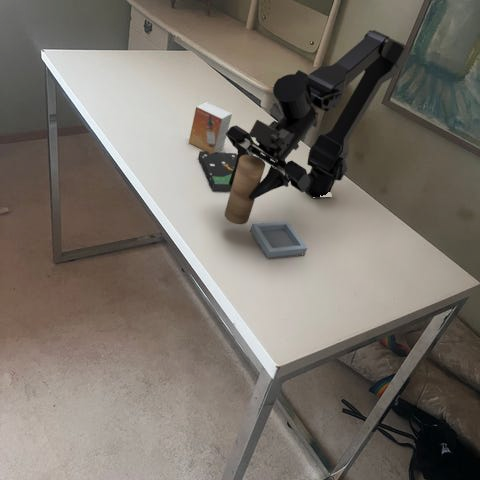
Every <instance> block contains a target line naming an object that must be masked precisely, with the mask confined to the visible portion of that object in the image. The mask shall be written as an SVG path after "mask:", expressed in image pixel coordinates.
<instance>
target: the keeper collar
mask: <svg viewBox="0 0 480 480" xmlns="http://www.w3.org/2000/svg"><path fill="white" fill-rule="evenodd" d="M249 232H250V233H251V236H252V237H253V239H254V240H255V242H256V244H257V245H258V246H259V249H260V250H261V251H262V253H263V255H264V256H265V258H266V260H272V259H273V260H274V259H281V258H282V259H283V258H290V257H289V256H292V257H298V256H297V255H302V254H305V255H306V252H307V250H308V247H307V246H306V244H305V243H304V241H303V239H301V237H300V236H299V235H298V233H297V231H296V230H295V228H294V227H293V226H292V225H291V223H290V222H289V221H286V220H285V221H271V222H257V223H254V222H253V223H251V225H250V229H249ZM302 256H303V255H302Z"/></svg>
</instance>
